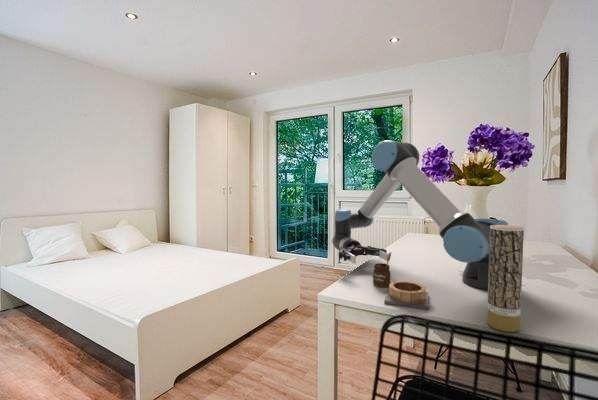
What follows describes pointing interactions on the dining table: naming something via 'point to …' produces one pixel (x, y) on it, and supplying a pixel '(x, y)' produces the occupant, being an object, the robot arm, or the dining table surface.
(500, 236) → the paper tube
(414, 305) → the collar plate
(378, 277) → the utensil holder
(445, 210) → the robot arm
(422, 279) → the dining table surface
